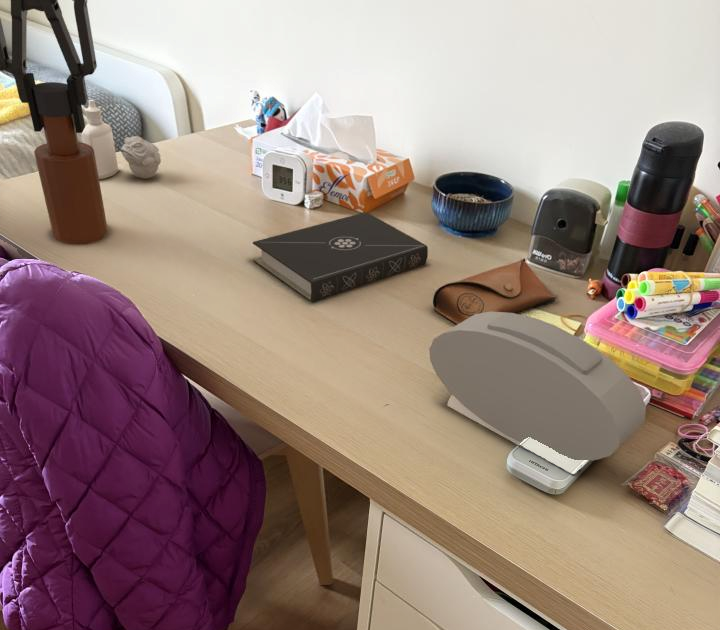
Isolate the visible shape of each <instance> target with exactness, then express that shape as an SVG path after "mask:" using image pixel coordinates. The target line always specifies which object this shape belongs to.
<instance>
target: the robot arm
mask: <svg viewBox="0 0 720 630" xmlns="http://www.w3.org/2000/svg"><path fill="white" fill-rule="evenodd" d="M71 1H72V2H73V11H74V12H73V13H74V18H75V23H76V29H77V35H78V40H79V41H78V42H79V46H80V51H81V57H82V62H81V59H80V57H79V54H78V51H77V49H76V47H75V44H74V42H73V38H72V37H71V34H70V32H69V29H68V27H67V24H66V22H65V19H64V16H63V12H62V8H61V6H60V4H59V1H58V0H10V16H11V58H10V53H9V49H8V44H7V41H6V37H5V32H4V27H3V23H2V19H1V18H0V72H3V71H4V72H7V73H9V74H11V75H12V77H13V78H14V82H15V85H16V89H17V94H18V99H19V100H20V102H21V103H22V104H27V105H28V109H29V113H30V117H31V122H32V126H33V131H34V132H38V133H39V132H42V130H43V129H44V128H43V123H42V118H41V114H39V113H38V111H37V107H36V102H35V97H34V93H33V86H34V85H36V84H37V83H36V79H35V75H34V72H27V70H28V66H27V21H28V11H31V10H36V11H38V12H44V15H45V18H46V19H47V21H48V22H49V25H50V28H51V29H52V32H53V34H54V36H55V40H56V41H57V44H58V46H59V49H60V51H61V54H62V56H63V58H64V61H65V63H66V66H67V68H68V71H69V76H68V77H67V78H66V84H67V86H68V92H69V97H70V102H71V107H72V113H73V118H74V123H75V129H76V133H77V134H81V133H82V132H83V130H84V128H85V126H86V124H85V118H84V112H83V106H86V105H87V103H88V101H89V99H88V98H89V97H88V91H87V85H86V81H85V80H86V79H85V78H86V77H87V76H91V75H94V73H95V72H96V70H97V68H98V65H97V64H98V63H97V58H96V51H95V45H94V40H93V33H92V28H91V27H92V25H91V21H90V15H89V8H88V0H71Z"/></svg>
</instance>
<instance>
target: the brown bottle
mask: <svg viewBox="0 0 720 630" xmlns="http://www.w3.org/2000/svg"><path fill="white" fill-rule="evenodd" d="M41 118H42V123H43V128H42V129H43V132H44V136H45V141H46V143H43V144H41V145H39V146H36V148H35V149H34V151H33V152H34V153H33V154H34V158H35V162H36V166H37V171H38V175H39V179H40V180H39V181H40V184H41V189H42V193H43V198H44V203H45V207H46V210H47V211H46V212H47V215H48V220H49V223H50V227H51V231H52V234H53V237H54V238H55V239H56V240H57V241H59V242H61V243H66V244H71V245H84V244H91V243H95V242H98V241H100V240H102V239H103V238H105V237H106V236H107V235H108V222H107V217H106V212H105V205H104V200H103V195H102V189H101V183H100V179H99V177H98V171H97V165H96V159H95V154H94V149H93V148H92V147H91V146H90V145H87V144H85V143H82V141H81V142H80V141H79V140H78V139H79V138H78V133H76V129H75V123H74V118H73V114H71V115H68V116H63V117H49V116H44V115H41Z"/></svg>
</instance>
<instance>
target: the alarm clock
mask: <svg viewBox="0 0 720 630" xmlns="http://www.w3.org/2000/svg"><path fill="white" fill-rule="evenodd" d="M428 352H429V361H430V364H431V366H432V368H433V370H434V372H435V375H436V376H437V378H438V379H439V381H440V382H441V383H442V384H443V385H444V387H445V388H446V389H447V391H448V393H450V394H451V395H450V397H449V399H448V401H447V407H449V408H451V409H452V410H454V411H456V412H458V413H459V414H461V415H463V416H465V417H467V418H469V419H470V420H472V421H474V422H476V423H478V424H479V425H481V426H483V427H484V428H486V429H488V430H490V431H492V432H494V433H496V434H498V435H499V436H500V437H502V438H505V439H506V440H508V441H510V442H512V443H514V444H515V445H517V446H519V444H520V443H521V442H522V441H523V440H524V439H526V438H528V437H531V438H532V439H534V440H537V441H538V442H540V443H542V444H544V445H546V446H548V447H549V448H552V449H553V450H555V451H556V452H558V453H559V454H562V455H564V456H567V457H568V458H571V459H574V460H590V461H597V460H600V459H604V458H608V457H611V456H612V455H613V454H614V453H615V452H616V451H617V450H618V449H619V448H620V447H621V446H622V445H623V444H624V443H625V442H626V441H627V440H628V439H629V438H630V437H631V436H633V434H634V433H635V432H636V431H637V430H639V428H640V427H641V426H642V425H643V424H644V423H645V421H646V415H647V414H646V413H647V405H646V403H645V400H644V398H643V395H642V393H641V391H640V389H639V388H638V387H637V386H636V384H635V383H634V381H633V380H632V379H631V377H630V376H629V374H627V372H625V370H623V369H622V368H621V367H620V366H619V365H618V364H616V362H614V361H613V360H612V359H611V358H610V357H609V356H607V355H606V354H604V353H603V352H601V350H599V349H597V348H595V346H593V345H592V344H590V343H588V342H587V341H586V340H585V339H582V338H580V337H579V336H576V335H574V334H573V333H570V332H568V331H566V330H565V329H563V328H562V327H560V326H556V325H555V324H553V323H550V322H548V321H545V320H542V319H539V318H536V317H532V316H529V315H525V314H518V313H516V314H514V313H506V312H485V313H479V314H475V315H473V316H471V317H470V318H468V319H466V320H465V321H463V322H461V323H459V324H458V325H456V324H455V325H454V326H452V327H451V328H449V329H447V330H446V331H444V332H442V333H441V334H439V335H438V336H436V337H434V338H433V340H432V342H431V344H430V346H429V348H428Z"/></svg>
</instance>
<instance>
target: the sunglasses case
mask: <svg viewBox="0 0 720 630" xmlns="http://www.w3.org/2000/svg"><path fill="white" fill-rule="evenodd" d="M556 299H558V296H556V295H554V294H553V293H551V291H550V290H549V289H548V287H546V284H544V282H542V280H541V279H540V278H539V276H538V275H537V274H536V272H535V271H533V270H532V268H531V267H530V266H529V264H528V263H527V262H526V258H522V259H520V260H517V261H515V262H512V263H508V264H506V265H502V266H498V267H495V268H491V269H488V270H486V271H482V272H480V273H477V274H474V275H471V276H468V277H466V278H463V279H461V280H457V281H452V282H449V283H445V284H443V285H442V286H440V287H438V288H437V290H436V291H434V294H433V297H432V305H433V308H434V311H435V312H436V313H438V314H439V315H441V316H442V317H444V318H445V319H446V320H448V321H449V322H451V323H453V324H454V325H455V326H456V325H458V324H459V323H461V322H463V321H465V320H466V319H468V318H470V317H471V316H473V315H475V314H479V313H485V312H506V313H514V314H518V313H521V312H525V311H527V310H530V309H533V308H536V307H538V306H540V305H543V304H546V303H548V302H551V301H554V300H556Z"/></svg>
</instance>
